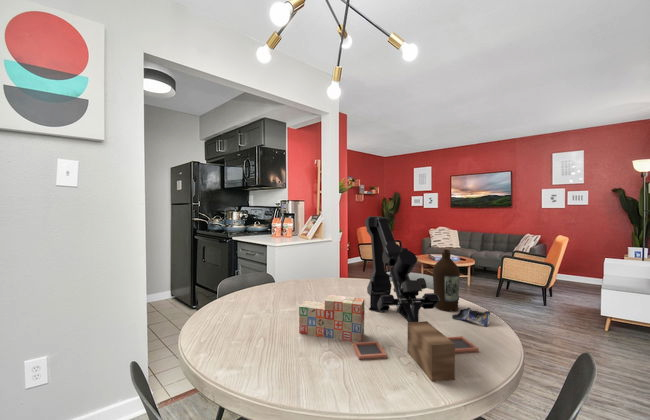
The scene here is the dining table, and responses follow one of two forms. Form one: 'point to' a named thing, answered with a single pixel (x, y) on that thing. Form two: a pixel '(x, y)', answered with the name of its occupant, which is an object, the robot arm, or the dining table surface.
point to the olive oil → (446, 282)
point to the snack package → (473, 316)
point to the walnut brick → (431, 351)
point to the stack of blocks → (333, 318)
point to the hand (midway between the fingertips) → (416, 329)
